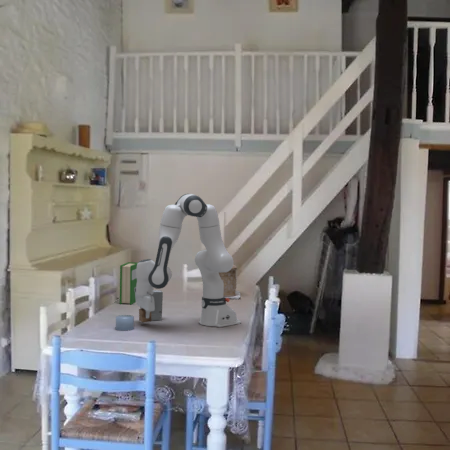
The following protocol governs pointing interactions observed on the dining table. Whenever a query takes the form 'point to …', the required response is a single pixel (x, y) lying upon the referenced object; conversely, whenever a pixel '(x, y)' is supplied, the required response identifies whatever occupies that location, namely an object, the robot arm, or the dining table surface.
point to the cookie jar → (230, 283)
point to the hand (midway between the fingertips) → (145, 316)
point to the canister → (124, 322)
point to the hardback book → (128, 282)
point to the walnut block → (142, 316)
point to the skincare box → (157, 305)
